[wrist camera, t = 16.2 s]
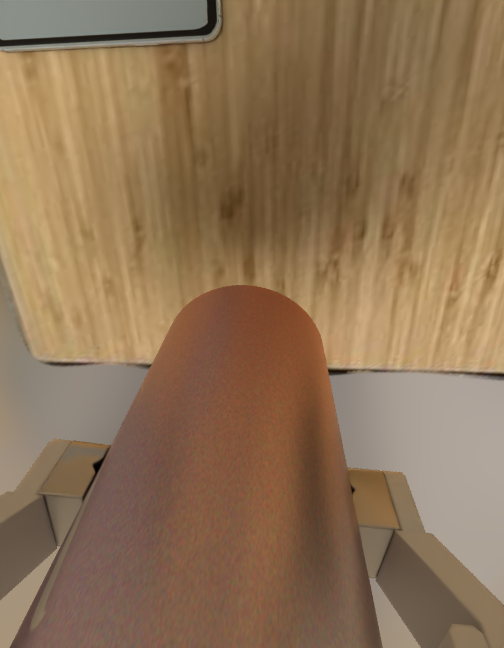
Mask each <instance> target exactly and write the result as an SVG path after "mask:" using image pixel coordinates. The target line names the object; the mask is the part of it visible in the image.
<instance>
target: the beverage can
mask: <svg viewBox="0 0 504 648" xmlns="http://www.w3.org/2000/svg"><path fill="white" fill-rule="evenodd" d="M10 648H383V647H382V642H381V637H380V633H379V627H378V622H377V617H376V612H375V607H374V602H373V596H372V591H371V586H370V581H369V576H368V571H367V566H366V561H365V556H364V551H363V546H362V541H361V536H360V531H359V526H358V521H357V516H356V510H355V505H354V500H353V495H352V490H351V485H350V480H349V475H348V470H347V465H346V460H345V455H344V450H343V444H342V440H341V434H340V430H339V424H338V419H337V414H336V409H335V404H334V399H333V395H332V389H331V384H330V379H329V374H328V369H327V363H326V358H325V353H324V348H323V344H322V339H321V336H320V333H319V331H318V329H317V327H316V325H315V323H314V322H313V320H312V319H311V318H310V316H309V315H308V314H307V313H306V312H305V311H304V310H303V309H302V308H301V307H300V306H299V305H298V304H296V303H295V302H294V301H292V300H291V299H289V298H287V297H286V296H284V295H282V294H280V293H278V292H275V291H272V290H269V289H266V288H262V287H257V286H248V285H235V286H227V287H222V288H217V289H214V290H211V291H209V292H206V293H204V294H202V295H200V296H199V297H197V298H195V299H194V300H192V301H191V302H190V303H189V304H187V305H186V306H185V307H184V308H183V309H182V310H181V312H180V313H179V314H178V315H177V317H176V318H175V320H174V322H173V324H172V325H171V327H170V329H169V331H168V333H167V335H166V337H165V339H164V341H163V343H162V345H161V347H160V349H159V351H158V353H157V355H156V357H155V359H154V361H153V363H152V365H151V367H150V369H149V371H148V373H147V375H146V377H145V379H144V382H143V383H142V385H141V387H140V389H139V391H138V394H137V395H136V397H135V399H134V401H133V403H132V405H131V407H130V409H129V411H128V413H127V415H126V417H125V419H124V421H123V423H122V425H121V427H120V429H119V431H118V433H117V435H116V437H115V439H114V441H113V443H112V445H111V447H110V449H109V451H108V453H107V455H106V457H105V459H104V461H103V463H102V465H101V467H100V469H99V471H98V473H97V475H96V477H95V479H94V481H93V483H92V485H91V487H90V489H89V491H88V493H87V495H86V497H85V499H84V501H83V503H82V505H81V507H80V509H79V511H78V513H77V515H76V517H75V519H74V521H73V523H72V525H71V527H70V529H69V531H68V533H67V535H66V537H65V539H64V541H63V543H62V545H61V547H60V549H59V551H58V553H57V555H56V557H55V559H54V561H53V563H52V565H51V567H50V569H49V571H48V573H47V575H46V577H45V579H44V581H43V583H42V585H41V587H40V589H39V591H38V593H37V595H36V597H35V599H34V601H33V603H32V605H31V606H30V609H29V611H28V612H27V614H26V616H25V618H24V620H23V622H22V624H21V626H20V628H19V630H18V632H17V634H16V636H15V639H14V640H13V642H12V644H11V646H10Z"/></svg>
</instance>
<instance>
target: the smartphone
mask: <svg viewBox="0 0 504 648" xmlns="http://www.w3.org/2000/svg"><path fill="white" fill-rule="evenodd" d="M221 25H222V11H221V0H0V51H3V52H25V51H44V50H62V49H81V48H100V47H119V46H145V45H159V44H175V43H194V42H208V41H211V40H213V39H214V38H215V37H216V36H217V35H218V34H219V32H220V29H221Z"/></svg>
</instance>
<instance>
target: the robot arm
mask: <svg viewBox="0 0 504 648" xmlns="http://www.w3.org/2000/svg"><path fill="white" fill-rule="evenodd" d="M110 447H111V445H105V444H96V443H88V442H80V441H70V440H61V439H53V440H52V441H50V442H49V443H48V444H47V446H46V447H45V448H44V450H43V451H42V453H41V454H40V456H39V457H38V458H37V460H36V461H35V462H34V464H33V465H32V467H31V468H30V470H29V471H28V472H27V474H26V475H25V477H24V478H23V480H22V481H21V482H20V484H19V485H18V487H17V488H16V490H15V491H14V492H6V493H4V494H3V495H1V496H0V600H1V599H2V598H3V597H4V596H6V595H7V594H8V593H9V592H10V591H11V590H12V589H13V588H14V587H15V586H16V585H17V584H19V583H20V582H21V581H22V580H23V579H24V578H25V577H26V576H27V575H28V574H30V573H31V572H32V571H33V570H34V569H35V568H36V567H37V566H38V565H39V564H40V563H42V562H43V561H44V560H45V559H46V558H47V557H48V556H49V555H50V554H51V553H52V552H54V551H55V550H56V549H57V546H61V545H62V543H63V541H64V539H65V537H66V535H67V533H68V531H69V529H70V527H71V525H72V523H73V521H74V519H75V517H76V515H77V513H78V511H79V509H80V507H81V505H82V503H83V501H84V499H85V497H86V495H87V493H88V491H89V489H90V487H91V485H92V483H93V481H94V479H95V477H96V475H97V473H98V471H99V469H100V467H101V465H102V463H103V461H104V459H105V457H106V455H107V453H108V451H109V449H110ZM347 470H348V475H349V480H350V485H351V490H352V495H353V500H354V505H355V510H356V516H357V521H358V526H359V531H360V536H361V541H362V546H363V551H364V556H365V561H366V566H367V571H368V576H369V578H376V582H377V583H378V584H379V586H380V587H381V589H382V590H383V592H384V593H385V595H386V596H387V598H388V599H389V601H390V602H391V604H392V605H393V607H394V608H395V610H396V611H397V612H398V614H399V616H400V617H401V619H402V620H403V622H404V623H405V625H406V626H407V627H408V629H409V630H410V632H411V633H412V635H413V636H414V638H415V639H416V641H417V642H418V644H419V645H420V647H421V648H504V605H503V604H502V603H501V602H500V601H499V600H498V599H497V598H496V597H495V596H494V595H493V594H492V593H491V592H490V591H489V590H488V589H487V588H486V587H485V586H484V585H483V584H482V583H481V582H480V581H479V580H478V579H477V578H476V577H475V576H474V575H473V574H472V573H471V572H470V571H469V570H468V569H467V568H466V567H465V566H464V565H463V564H462V563H461V562H460V561H459V560H458V559H457V558H456V557H455V556H454V555H453V554H452V553H451V552H450V551H449V550H448V549H447V548H446V547H445V546H444V545H443V544H442V543H441V542H440V541H439V540H438V539H437V538H436V537H435V536H434V535H433V534H430V533H426V532H425V530H424V527H423V524H422V522H421V519H420V516H419V513H418V510H417V508H416V505H415V502H414V500H413V497H412V494H411V491H410V488H409V486H408V483H407V480H406V477H405V475H404V474H403V473H401V472H391V471H380V470H370V469H358V468H347Z"/></svg>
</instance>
